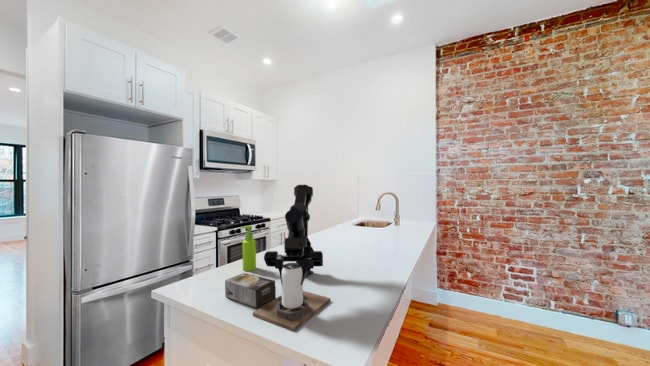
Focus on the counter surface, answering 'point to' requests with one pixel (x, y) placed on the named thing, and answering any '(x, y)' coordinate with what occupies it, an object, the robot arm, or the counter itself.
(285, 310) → the carrier board
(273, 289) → the coffee box
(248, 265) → the soap dispenser
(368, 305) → the counter surface
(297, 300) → the can
